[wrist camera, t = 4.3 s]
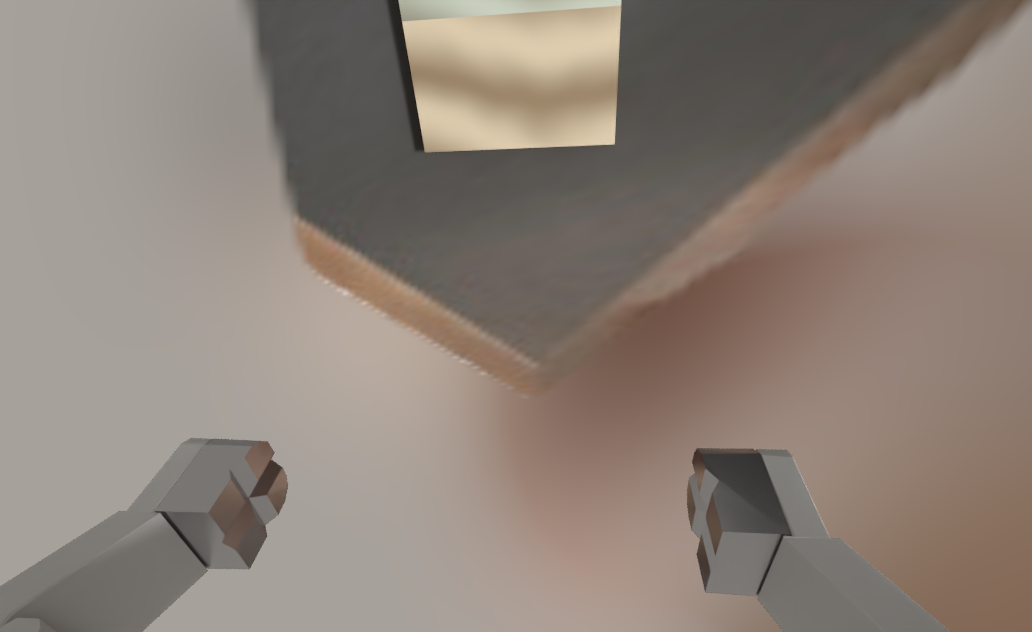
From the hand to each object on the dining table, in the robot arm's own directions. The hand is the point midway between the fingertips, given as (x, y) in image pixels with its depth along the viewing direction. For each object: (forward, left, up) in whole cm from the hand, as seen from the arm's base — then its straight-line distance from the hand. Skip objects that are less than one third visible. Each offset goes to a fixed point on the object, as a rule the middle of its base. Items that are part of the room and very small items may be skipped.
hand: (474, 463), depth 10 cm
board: (-5, -2, -32) cm, 32 cm away
